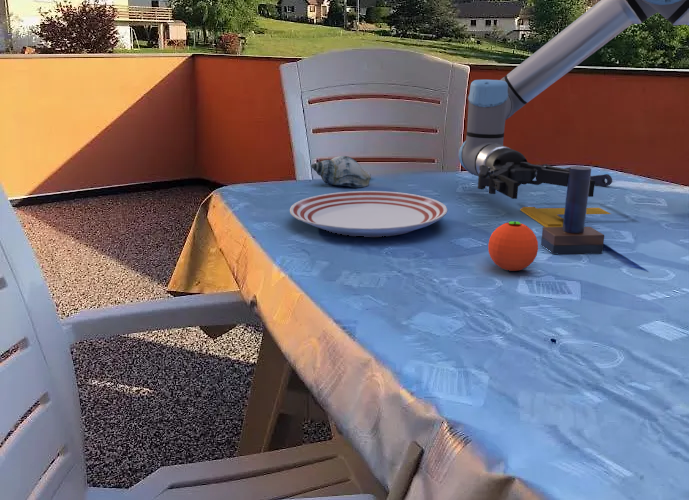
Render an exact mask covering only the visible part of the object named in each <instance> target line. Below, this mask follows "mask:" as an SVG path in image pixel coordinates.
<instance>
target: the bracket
mask: <svg viewBox="0 0 689 500" xmlns="http://www.w3.org/2000/svg"><path fill="white" fill-rule="evenodd" d="M570 167H571V166H569V167H564V169H569V168H570ZM536 178H537V176H536V177H535V179H536ZM590 179H592V180H594V181H595V186H598V187H609V186H611V184H612V183H613V177H612V176H611V175H610V174H608V173H605V174H598V175H591V176H590Z"/></svg>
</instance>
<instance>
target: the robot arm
mask: <svg viewBox="0 0 689 500" xmlns="http://www.w3.org/2000/svg"><path fill="white" fill-rule="evenodd" d="M656 13H658V14H660V16H662V17H663V18H664V19H665V20H666V21H668V22H669V23H670V24H671V25H672V26H682V25H683V26H684V25H687V26H689V0H599V1H598V2H597V3H595V4H594V5H593V6H591V7H590V8H589V9H587V10H586V11H585V12H584V13H582V14H581V15H580V16H579V17H578V18H576V19H575V20H574V21H573V22H571V23H570V24H569V25H567V26H566V27H565V28H564V29H562V30H561V31H560V32H559V33H558V34H556V35H555V36H554V37H553V38H551V39H550V40H548V41H547V42H546V43H545V44H544V45H542V46H541V47H540V48H538V49H537V50H536V51H535V52H534V53H533V54H531V55H529V57H527V58H525V60H523V61H522V62H521V63H520V64H518V65H517V66H516V67H515V68H514V69H512V70H511V71H509V72H508V73H507V74H506V75H505V76H504V77H502V78H500V79H474V80H473V81H471V83H470V86H469V94H468V97H467V99H468V107H467V108H468V110H467V125H466V126H467V127H466V135H465V141H463V142H462V143H461V146H460V147H459V150H458V161H459V164H460V165H461V167H463V168H464V169H465V170H466V171H467V172H468V173H470V174H471V175H474V176H476V177H478V178H477V180H478V181H477V189H478V190H485V189H486V187H487V188H488V194H489V195H496V193H497V192H499V193H501V194H502V195H504V196H506V197H508V198H510V199H512V200H517V199H518V191H519V186H521V185H527V184H528V185H535V186H539V185H542V184H546V185H547V184H548V185H552V186H553V185H554V186H560V187H566V188H567V185H568V176H569V169H564V168H565V167H564V168H563V167H557V166H554V165H549V164H547V163H545V164H542V165H541V164H533V163H531V162H528V160H527V158H526V156H525V155H524V154H522V153H521V152H520V151H518V150H515V149H513V148H510V147H508V146H506V145H504V139H505V128H506V120H508V119H509V118H511V117H512V116H513V115H514V114H515V113H517V112H518V111H519V110H521V109H522V108H523V107H524V106H526V105H527V104H528V103H529V102H530V101H532V100H533V99H535V98H536V97H537V96H539V95H540V94H541V93H542V92H545V90H546V89H548V88H549V87H550V86H552V85H553V84H554V83H556V82H557V81H558V80H560V79H561V78H562V77H564V76H565V75H566V74H568V73H569V72H570V71H572V70H573V69H574V68H576V67H577V66H579V65H580V64H581V63H582V62H584V61H585V60H586V59H588V58H589V57H590V56H592V55H593V54H595V53H596V52H597V51H598V50H600V49H601V48H602V47H603V46H605V45H606V44H607V43H609V42H610V41H611V40H613V39H614V38H616V37H617V36H619V35H620V34H621V33H623V32H624V31H625V30H626V29H627V28H629V27H630V26H631V25H634V24H635V25H636V24H637V25H641V24H642V23H644V22H645V21H646V20H648V19H649V18H651V17H652V16H654V15H656ZM536 176H537V178H536ZM595 186H596V185H595V181H594V180H592V179H590V185H589V193H588V198H593V197H594V193H595ZM496 191H497V192H496Z"/></svg>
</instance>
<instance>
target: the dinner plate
mask: <svg viewBox="0 0 689 500" xmlns="http://www.w3.org/2000/svg"><path fill="white" fill-rule="evenodd" d="M447 213H448V207H447V205H445V204H444V203H443V202H441V201H439V200H437V199H434V198H432V197H428V196H423V195H418V194H415V193H414V194H413V193H407V192H400V191H398V192H397V191H385V190H355V191H339V192H333V193H332V192H330V193H324V194H319V195H314V196H310V197H309V196H308V197H306V198H303V199H300V200H298V201H296V202H294V203H293V204H292V205H291V206H290V208H289V214H290V215H291V216H292V217H293V218H294V219H296V220H298V221H300V222H303V223H305V224H307V225H309V226H311V227H314V228H318V229H320V230H324V231H325V230H326V232H328V231H329V233H331V232H332V234H335V233H337V234H336V235H340V234H342V235H341V236H347V235H349V236H348V237H356V236H364V237H363V238H385V237H384V236H386V237H393V236H400V235H404V234H409V233H411V232H413V231H416V230H419V229H422V228H426V227H429V226H430V225H433V224H434V223H437V222H438V221H441V219H443V218H444V217H445V216H446V215H447ZM382 236H383V237H382Z"/></svg>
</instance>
